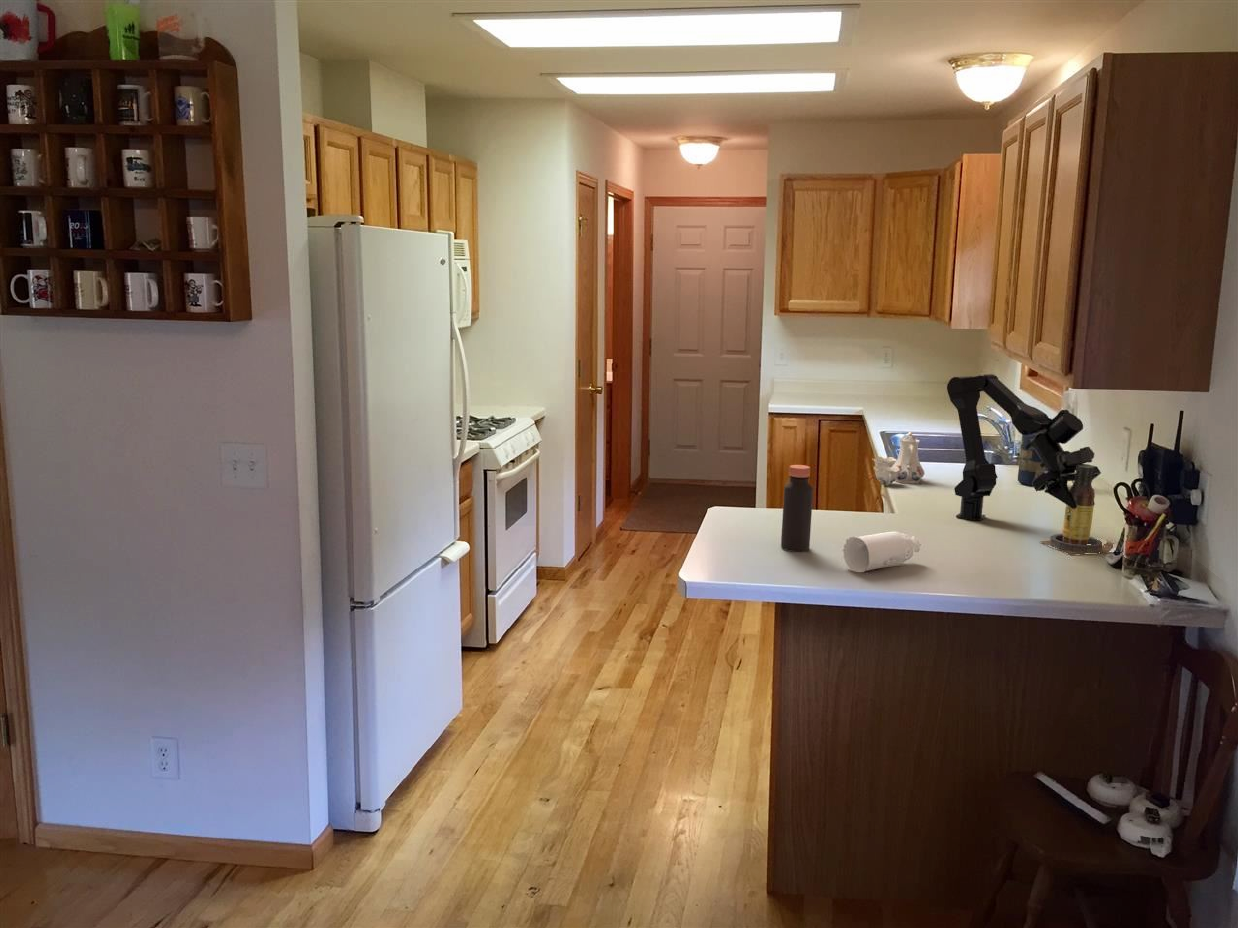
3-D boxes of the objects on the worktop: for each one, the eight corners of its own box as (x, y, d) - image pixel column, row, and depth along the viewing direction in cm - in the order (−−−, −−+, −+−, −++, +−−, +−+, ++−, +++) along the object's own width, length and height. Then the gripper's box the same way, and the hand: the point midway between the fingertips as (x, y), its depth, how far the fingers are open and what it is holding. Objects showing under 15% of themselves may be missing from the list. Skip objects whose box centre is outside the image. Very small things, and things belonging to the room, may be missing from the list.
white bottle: (926, 566, 240) (929, 532, 238) (866, 576, 230) (869, 541, 229) (901, 557, 247) (904, 525, 245) (841, 567, 237) (843, 533, 235)
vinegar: (775, 545, 254) (779, 464, 250) (799, 543, 257) (804, 463, 253) (790, 552, 248) (795, 470, 244) (814, 550, 250) (820, 468, 247)
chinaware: (867, 475, 354) (865, 427, 351) (918, 473, 351) (917, 424, 348) (876, 492, 326) (874, 440, 323) (931, 490, 324) (929, 437, 321)
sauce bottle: (1062, 538, 264) (1071, 461, 260) (1089, 542, 261) (1098, 464, 257) (1060, 544, 258) (1070, 465, 254) (1088, 548, 255) (1098, 468, 251)
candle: (1021, 480, 344) (1027, 426, 340) (1051, 484, 338) (1057, 429, 335) (1013, 484, 336) (1018, 429, 333) (1044, 488, 331) (1050, 432, 327)
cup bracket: (1099, 539, 268) (1100, 532, 268) (1133, 552, 257) (1134, 544, 256) (1039, 542, 264) (1039, 534, 263) (1070, 555, 252) (1071, 547, 252)
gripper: (1047, 438, 253) (1081, 492, 246) (1098, 434, 262) (1132, 486, 255) (1018, 463, 262) (1049, 516, 254) (1068, 459, 270) (1100, 510, 263)
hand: (1084, 506), depth 256 cm, fingers closed on sauce bottle, 6 cm apart
